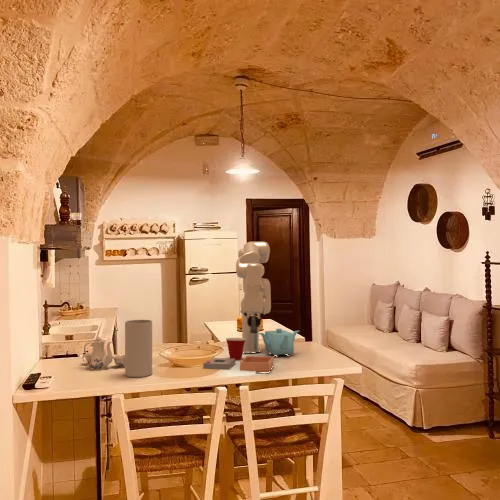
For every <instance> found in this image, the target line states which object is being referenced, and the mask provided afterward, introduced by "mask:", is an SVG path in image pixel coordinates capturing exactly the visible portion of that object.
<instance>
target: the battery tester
mask: <svg viewBox="0 0 500 500" xmlns="http://www.w3.org/2000/svg"><path fill="white" fill-rule="evenodd" d="M212 358H213V359H211V360H208V359H207V360H206V361H204V362H203V363H202V365H203V367H202V369H203V370H205V369H207V370H208V369H209V370H228V371H229V370H231V369H232V368H233V367H234V366H235V365H236V360H235V359H230V357H228V358H226V357H225V358H223V357H212Z"/></svg>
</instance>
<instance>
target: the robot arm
mask: <svg viewBox="0 0 500 500" xmlns="http://www.w3.org/2000/svg"><path fill="white" fill-rule="evenodd" d="M237 253H238V258H237V260H236V262H235V272H236V273H235V274H236V276H237V277H238V278H241V279H242V290H243V293H244V295H243V298H242V299H241V300H240V310H239V311H240V313H241V324H242V325H241V328H242V329H241V331H242V333H241V334H242V335H241V336H242V337H241V338H244V339H246V340H245V343H244V347H243V352H244V353H243V354H245V353H252V352H259V351H261V352H262V349H261V348H260V347H259V346H260V344H259V341H260V340H259V336H260V334H259V333H260V332H259V330H260V329H259V328H260V326H261V322H262V320H261V319H262V317H264V316H265V315H266V314H269V313H271V308H272V304H271V303H272V299H271V298H272V297H271V296H272V295H271V282H270V281H269V279H268V278H264V277H263V276H264V274H265V267H264V265H263V264H265V263H267V262H268V261H269V258H270V253H271V248H270V245H269V243H268V242H266V241H248V242H246V243H245V244H244V245H243V248H241V249H240V250H239V251H238V252H237ZM252 315H256V316H258V317H257V327H258V333H250V316H252Z"/></svg>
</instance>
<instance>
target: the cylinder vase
mask: <svg viewBox="0 0 500 500" xmlns="http://www.w3.org/2000/svg"><path fill="white" fill-rule="evenodd" d="M124 355H125V367H124V374H125V377H128V378H144V377H149V376H151V375H152V374H153V320H151V319H133V320H132V319H131V320H126V321H124Z"/></svg>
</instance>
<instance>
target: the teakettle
mask: <svg viewBox="0 0 500 500" xmlns="http://www.w3.org/2000/svg"><path fill="white" fill-rule="evenodd" d="M299 332H300V330H295V331H293V332H290V331H288V330H285V329H283V328H276V329H275V330H266V331H264V332H259V335H261V337H262V339H263V344H264V351H266V352H268V353H269V352H270V353H271V354H273V355H278V356H279V355H284V354H289V355H291V354H294V353H295V347H294V346H295V344H294V343H295V339H296V335H297V334H298V333H299ZM273 355H272V356H273Z"/></svg>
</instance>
